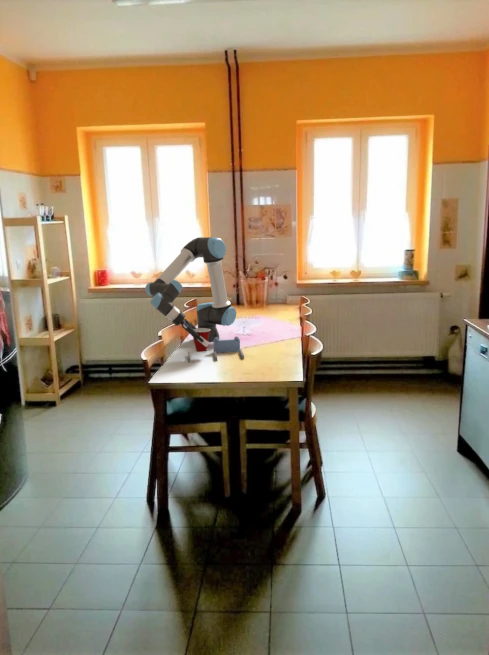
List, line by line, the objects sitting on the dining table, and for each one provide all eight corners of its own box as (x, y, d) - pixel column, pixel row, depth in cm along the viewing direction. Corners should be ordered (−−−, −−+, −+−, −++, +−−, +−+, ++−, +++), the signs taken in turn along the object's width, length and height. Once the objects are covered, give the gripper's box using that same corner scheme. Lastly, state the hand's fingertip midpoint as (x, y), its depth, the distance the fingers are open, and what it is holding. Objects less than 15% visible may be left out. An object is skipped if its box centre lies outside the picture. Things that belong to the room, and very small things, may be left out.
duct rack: (187, 353, 285) (186, 339, 283) (240, 350, 288) (239, 336, 287) (188, 362, 268) (187, 346, 266) (244, 359, 271) (243, 343, 269)
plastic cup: (214, 348, 278) (213, 327, 275) (207, 353, 268) (205, 331, 265) (196, 347, 281) (195, 326, 279) (188, 352, 271) (187, 330, 269)
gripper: (171, 317, 279) (201, 342, 285) (170, 325, 258) (203, 353, 263) (180, 307, 279) (210, 333, 284) (180, 315, 257) (213, 342, 263)
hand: (207, 342), depth 274 cm, fingers closed on plastic cup, 9 cm apart
